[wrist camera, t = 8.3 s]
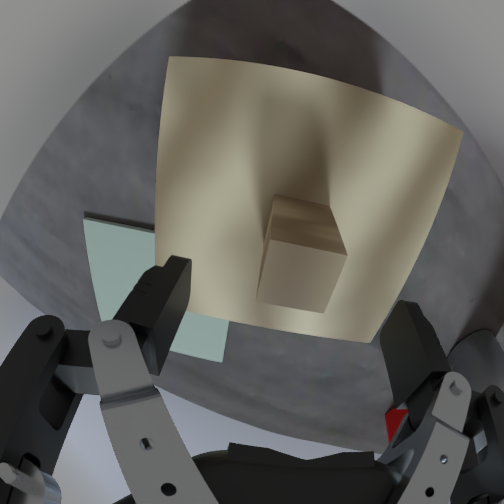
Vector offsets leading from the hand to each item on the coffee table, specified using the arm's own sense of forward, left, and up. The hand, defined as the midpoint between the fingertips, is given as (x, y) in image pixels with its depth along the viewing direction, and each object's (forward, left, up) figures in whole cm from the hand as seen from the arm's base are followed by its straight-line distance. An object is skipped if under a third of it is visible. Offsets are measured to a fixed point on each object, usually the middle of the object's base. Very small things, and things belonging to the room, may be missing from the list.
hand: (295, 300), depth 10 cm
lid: (0, 0, -7) cm, 7 cm away
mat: (+12, +17, -16) cm, 26 cm away
